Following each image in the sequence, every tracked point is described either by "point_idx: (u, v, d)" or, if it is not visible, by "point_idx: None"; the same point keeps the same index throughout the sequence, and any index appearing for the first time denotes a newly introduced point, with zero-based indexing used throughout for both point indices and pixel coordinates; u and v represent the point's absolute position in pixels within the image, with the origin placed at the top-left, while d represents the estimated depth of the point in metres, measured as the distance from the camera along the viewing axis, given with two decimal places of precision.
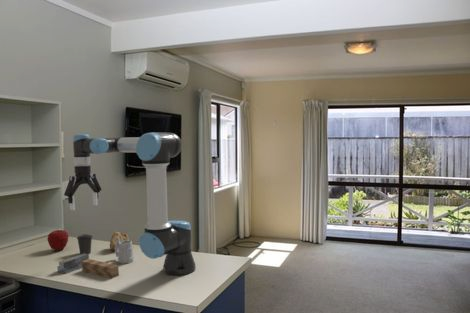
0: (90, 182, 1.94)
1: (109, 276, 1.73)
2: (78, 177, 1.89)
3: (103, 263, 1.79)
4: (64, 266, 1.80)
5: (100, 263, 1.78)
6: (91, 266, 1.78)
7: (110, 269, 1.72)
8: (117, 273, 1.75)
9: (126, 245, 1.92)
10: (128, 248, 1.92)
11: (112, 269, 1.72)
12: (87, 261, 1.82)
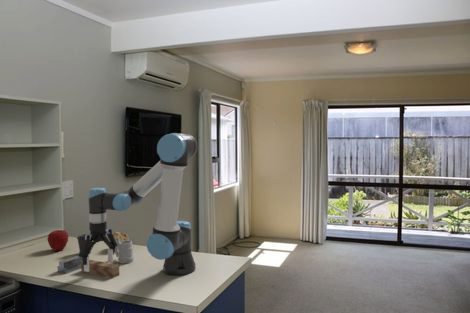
0: (106, 239, 1.80)
1: (110, 276, 1.73)
2: (93, 235, 1.74)
3: (103, 263, 1.79)
4: (64, 266, 1.80)
5: (100, 263, 1.78)
6: (90, 266, 1.78)
7: (111, 269, 1.72)
8: (118, 272, 1.75)
9: (126, 245, 1.92)
10: (128, 248, 1.92)
11: (113, 269, 1.73)
12: None
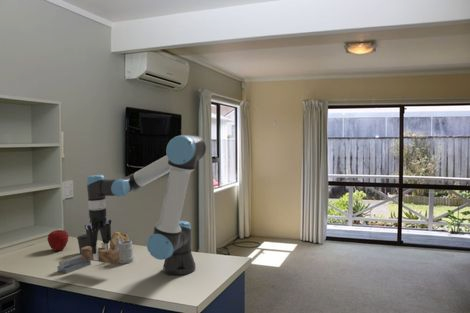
0: (104, 228, 1.78)
1: (110, 261, 1.73)
2: (93, 223, 1.74)
3: (103, 249, 1.78)
4: (64, 266, 1.80)
5: (100, 249, 1.78)
6: (90, 252, 1.78)
7: (111, 254, 1.72)
8: (118, 258, 1.75)
9: (126, 245, 1.92)
10: (128, 248, 1.92)
11: (113, 254, 1.72)
12: (86, 247, 1.81)
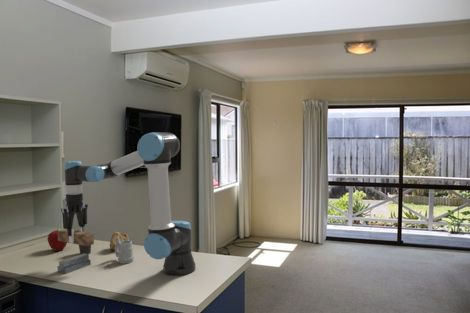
0: (80, 212, 1.86)
1: (84, 243, 1.81)
2: (69, 206, 1.82)
3: (79, 231, 1.86)
4: (64, 266, 1.80)
5: (76, 232, 1.86)
6: (66, 234, 1.86)
7: (85, 237, 1.80)
8: (93, 241, 1.83)
9: (126, 245, 1.92)
10: (128, 248, 1.92)
11: (87, 237, 1.80)
12: (63, 230, 1.89)
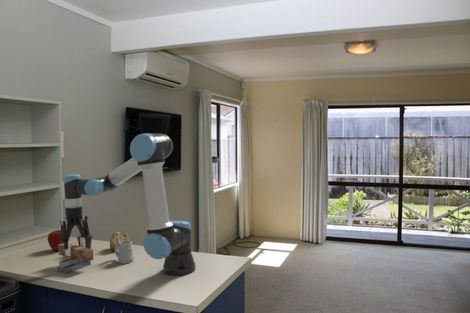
0: (80, 224, 1.87)
1: (84, 259, 1.81)
2: (69, 220, 1.82)
3: (79, 246, 1.87)
4: (64, 266, 1.80)
5: (76, 247, 1.86)
6: None
7: (85, 252, 1.81)
8: (92, 256, 1.84)
9: (126, 245, 1.92)
10: (128, 248, 1.92)
11: (87, 253, 1.81)
12: (63, 244, 1.90)
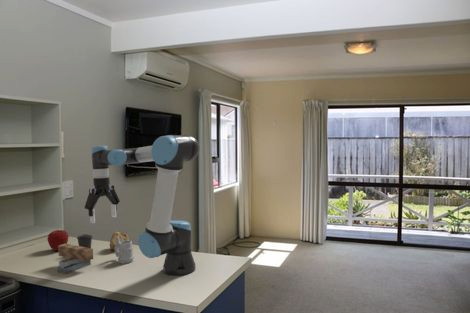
0: (109, 194, 1.92)
1: (84, 259, 1.81)
2: (98, 189, 1.86)
3: (79, 246, 1.87)
4: (64, 266, 1.80)
5: (76, 247, 1.86)
6: (66, 250, 1.87)
7: (85, 252, 1.81)
8: (92, 256, 1.84)
9: (126, 245, 1.92)
10: (128, 248, 1.92)
11: (87, 252, 1.81)
12: (63, 245, 1.90)
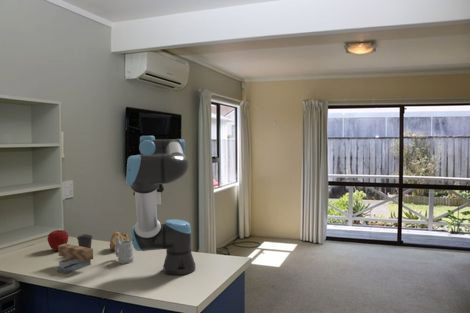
0: None
1: (84, 259, 1.81)
2: None
3: (79, 246, 1.87)
4: (64, 266, 1.80)
5: (76, 247, 1.86)
6: (66, 250, 1.87)
7: (85, 252, 1.81)
8: (92, 256, 1.84)
9: (126, 245, 1.92)
10: (128, 248, 1.92)
11: (87, 252, 1.81)
12: (63, 245, 1.90)
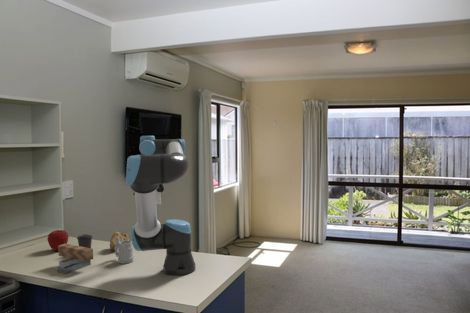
0: None
1: (84, 259, 1.81)
2: None
3: (79, 246, 1.87)
4: (64, 266, 1.80)
5: (76, 247, 1.86)
6: (66, 250, 1.87)
7: (85, 252, 1.81)
8: (92, 256, 1.84)
9: (126, 245, 1.92)
10: (128, 248, 1.92)
11: (87, 252, 1.81)
12: (63, 245, 1.90)
